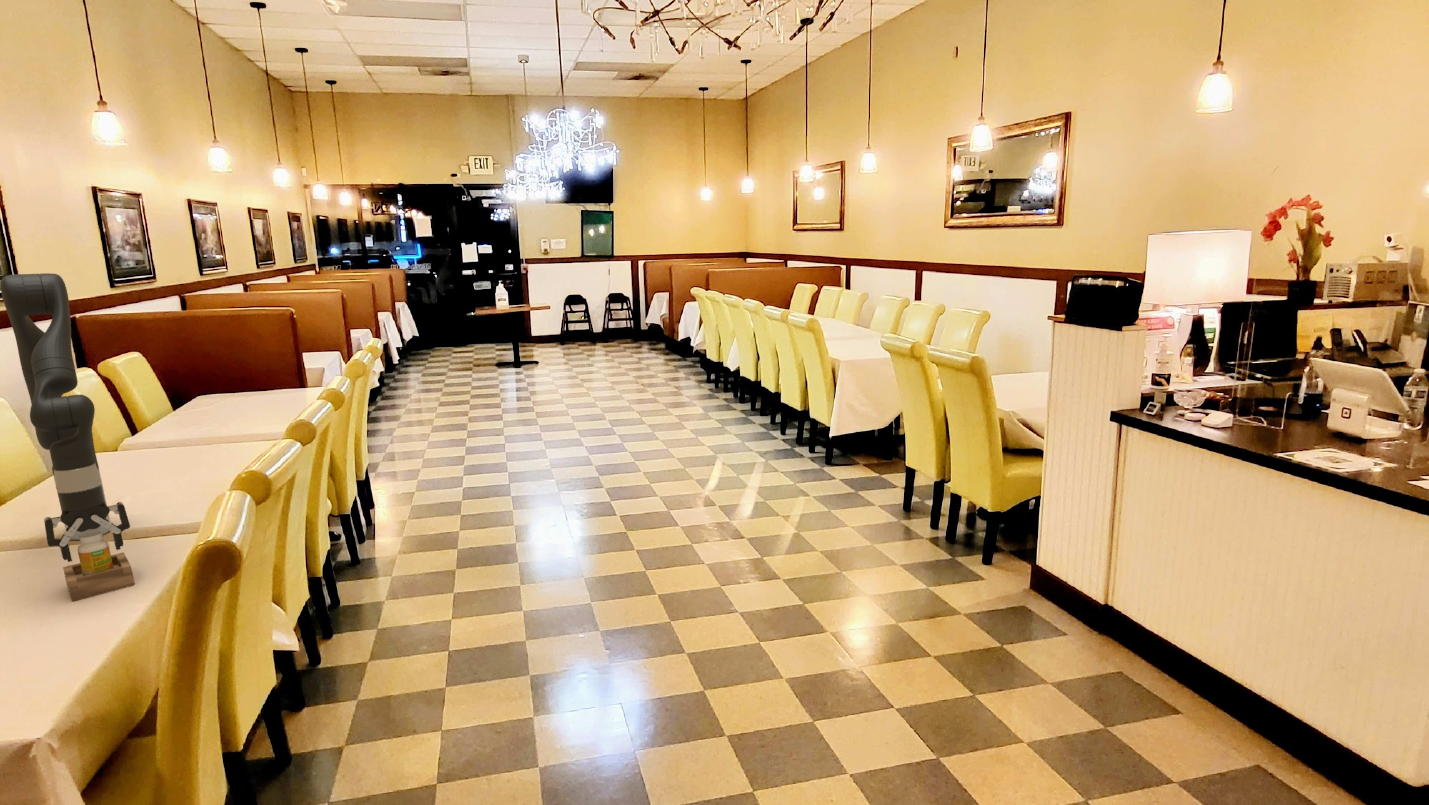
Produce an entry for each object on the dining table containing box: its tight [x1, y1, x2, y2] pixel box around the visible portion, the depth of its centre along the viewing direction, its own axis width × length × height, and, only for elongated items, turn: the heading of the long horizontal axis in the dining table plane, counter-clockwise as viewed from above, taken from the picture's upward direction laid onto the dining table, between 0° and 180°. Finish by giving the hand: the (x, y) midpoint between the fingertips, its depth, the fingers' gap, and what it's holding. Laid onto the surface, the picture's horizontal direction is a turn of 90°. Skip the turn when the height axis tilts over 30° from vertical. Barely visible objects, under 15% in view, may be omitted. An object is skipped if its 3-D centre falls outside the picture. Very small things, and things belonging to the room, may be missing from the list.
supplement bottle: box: [77, 531, 113, 576], centre depth 170 cm, size 5×5×10 cm
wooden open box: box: [62, 551, 136, 602], centre depth 171 cm, size 11×11×4 cm
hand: (94, 554), depth 170 cm, fingers open, 8 cm apart
